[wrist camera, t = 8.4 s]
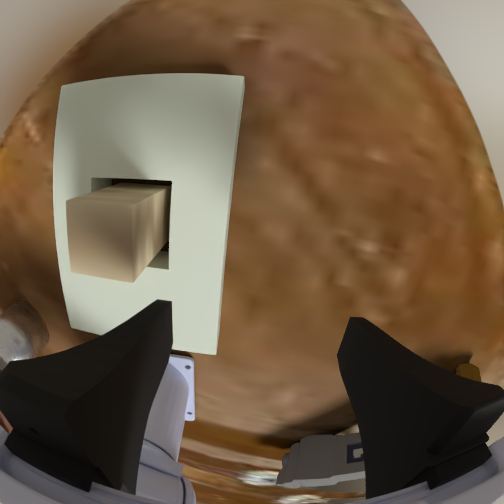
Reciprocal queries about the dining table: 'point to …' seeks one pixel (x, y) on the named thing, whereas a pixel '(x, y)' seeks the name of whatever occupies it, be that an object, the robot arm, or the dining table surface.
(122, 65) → the dining table surface
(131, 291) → the socket plate
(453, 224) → the dining table surface
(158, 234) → the square peg
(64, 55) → the dining table surface
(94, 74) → the dining table surface
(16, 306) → the round peg
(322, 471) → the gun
